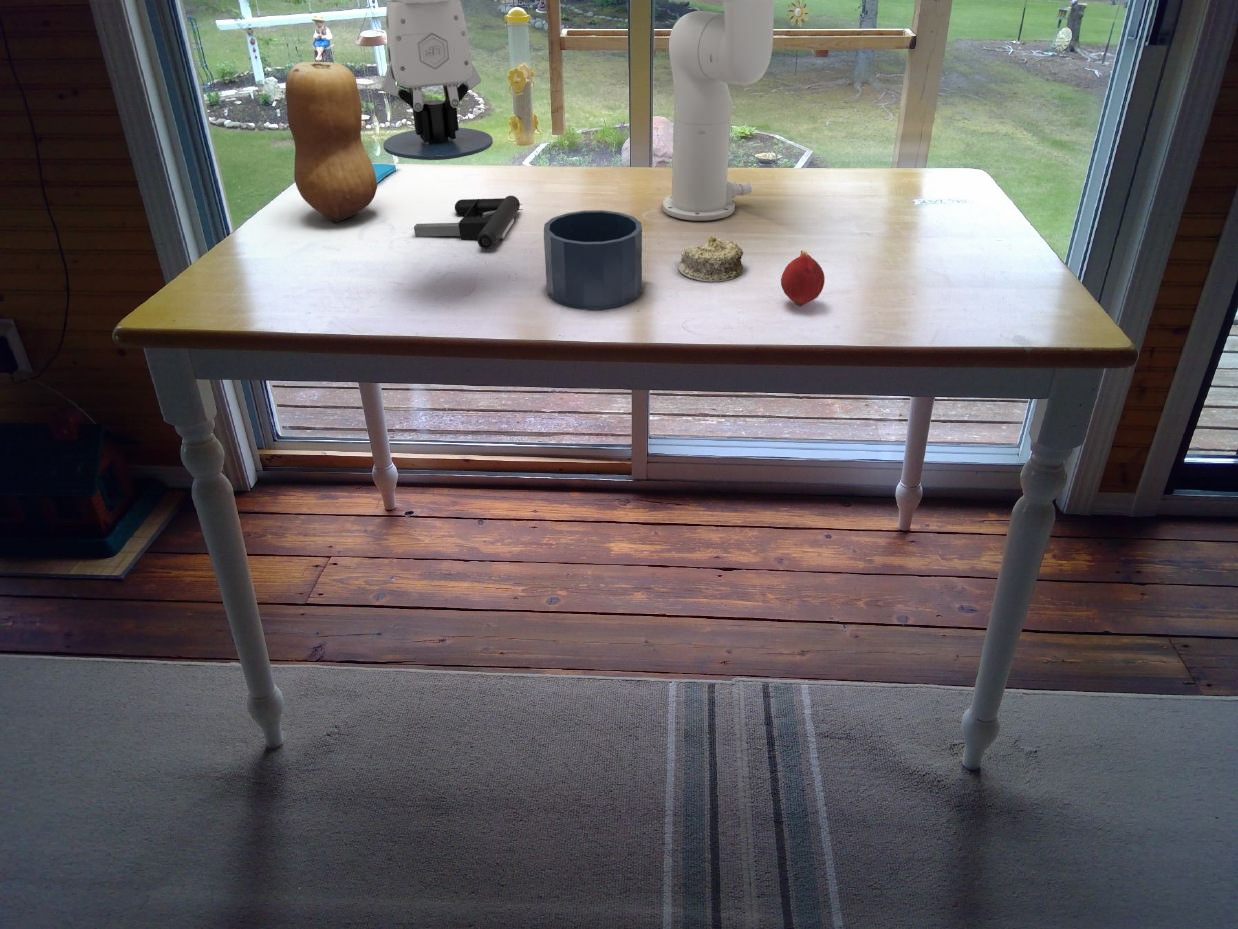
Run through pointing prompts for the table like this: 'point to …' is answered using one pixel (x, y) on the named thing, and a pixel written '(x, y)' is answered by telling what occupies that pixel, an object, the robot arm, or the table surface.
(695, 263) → the cake
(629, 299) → the pot
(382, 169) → the sponge
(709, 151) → the robot arm
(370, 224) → the table surface
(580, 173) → the table surface
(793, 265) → the onion
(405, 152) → the pot lid
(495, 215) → the door handle
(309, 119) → the butternut squash
